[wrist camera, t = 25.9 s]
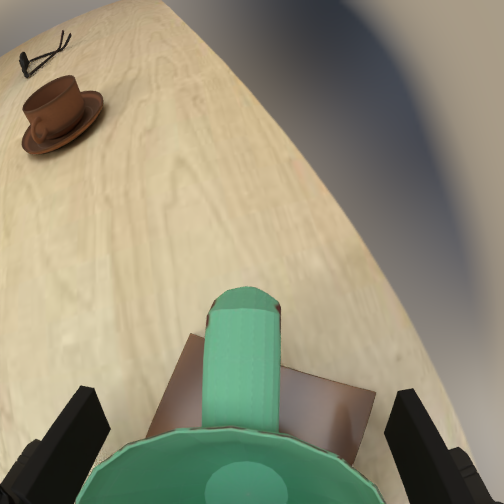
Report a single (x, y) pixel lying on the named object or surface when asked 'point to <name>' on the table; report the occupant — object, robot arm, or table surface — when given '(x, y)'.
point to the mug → (232, 431)
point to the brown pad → (290, 407)
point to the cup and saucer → (58, 114)
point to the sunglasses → (25, 62)
